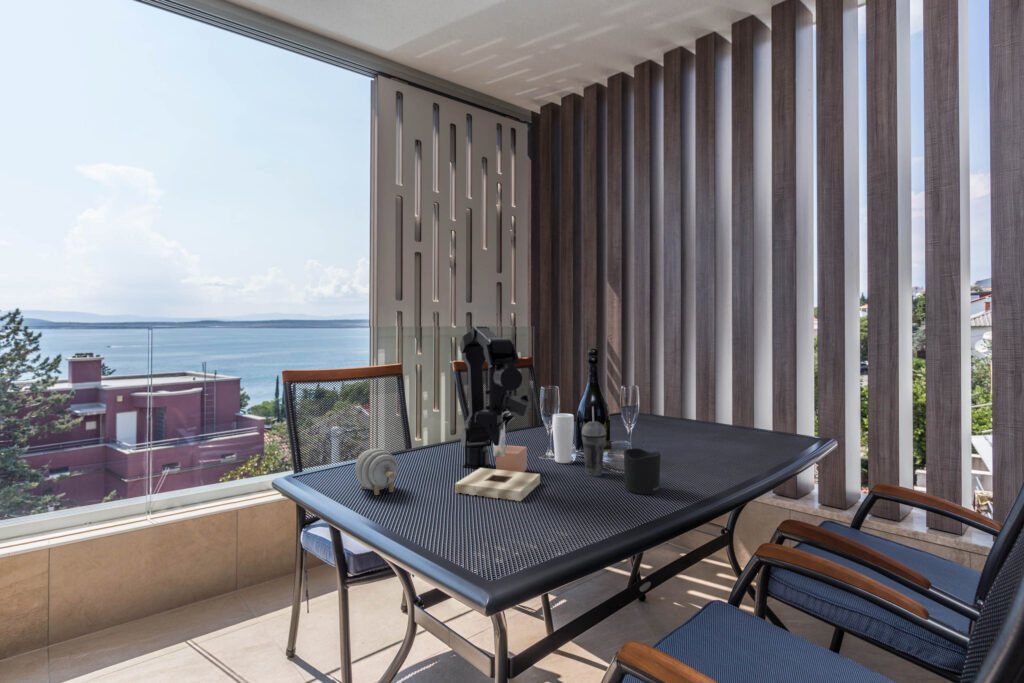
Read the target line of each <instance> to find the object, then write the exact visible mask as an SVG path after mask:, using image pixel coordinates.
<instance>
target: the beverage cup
mask: <svg viewBox="0 0 1024 683" xmlns="http://www.w3.org/2000/svg"><path fill="white" fill-rule="evenodd" d="M594 407H595V406H591V416H592V417H591V419H592V420H590V421H588V422H586V423H585V425H584V426H583V427H582V429H581V430H582V431H581V441H582V446H583V456H584V457H583V458H584V469H585V475H587V476H591V477H599V476H602V471H603V464H604V452H605V443H606V439H607V436H608V435H607V432H606V431H607V430H606V428H605V427H604V426H605V425H604V424H602V423H601V422H599V421H597V420H595V408H594Z"/></svg>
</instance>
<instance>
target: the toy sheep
mask: <svg viewBox="0 0 1024 683" xmlns="http://www.w3.org/2000/svg"><path fill="white" fill-rule="evenodd" d="M354 466H355V469H354V470H355V474H356V478H357V480H358V481H359V483H360V484H361V485H360V487H361V488H362V489H361V490H365V489H364V488H366V489H368V490H370V491H371V490H373V493H374V496H375V495H380V491H381V490H383V489H385V488H387V487H388V493H390V492H392V493H393V492H394V481H395V479H396V477H397V475H398V471H399V466H398V461H397V460H396V457H395V456H394V455H393V454H392V453H391V452H389V451H388V450H386V449H383V448H371V449H367V450H365V451H363V452H362V453H361V454H359V456H358V457H357V460H356V462H355V465H354Z"/></svg>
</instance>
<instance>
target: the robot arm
mask: <svg viewBox="0 0 1024 683" xmlns="http://www.w3.org/2000/svg"><path fill="white" fill-rule="evenodd" d="M459 351H460V353H461V358H462V360H463V362H464V363H465V364H466V367H467V377H468V378H467V379H468V382H467V383H468V403H469V404H468V407H469V408H468V409H469V410H468V411H469V414H468V416H467V418H466V419H465V421H464V428H463V430H462V433H461V437H460V445H461V446H462V448H464V463H463V464H462V467H464V468H472V469H479V468H486V466H488V465H490V460H489V459H490V458H489V454H490V452H489V449H488V447H492V445H493V443H494V445H495V446H498V445H499V440H500V432H501V426H502V425H503V424H504V423H505V436H506V435H507V432H508V427H509V424H510V423H511V421H513V420H514V419H515V418H516V415H518V416H521V417H524V416H525V415H528V413H529V411H530V408H532V406H533V405H532V401H531V396H530V395H528V394H523V395H522V396H516V395H514V391H515V390H517V389H518V388H520V387H521V384H522V383H523V376H522V373H521V372H520V370H519V369H518V368H516V366H518V365H519V359H520V358H519V355H518V353H517V349H516V347H515V344H514V343H513V341H512V340H511V339H510V338H508V337H499V336H498V335H497V334H495V333H494V332H493V331H492V330H491V329H490V326H489V327H488V326H485V325H484V326H482V325H481V326H480V325H479V326H477V325H476V326H474V327H473V326H472V327H471V330H470V331H469V332H467V333H466V334H464V335H463V336H462V338H461V340H460V345H459ZM485 362H486V363H487V367H488V371H487V374H488V375H487V376H488V381H487V382H488V384H487V387H488V388H487V389H485V394H484V371H483V366H484V364H485ZM484 395H488V398H487V399H488V402H487V403H488V404H487V405H485V399H484ZM512 413H515V415H512Z"/></svg>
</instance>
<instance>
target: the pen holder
mask: <svg viewBox="0 0 1024 683" xmlns="http://www.w3.org/2000/svg"><path fill="white" fill-rule="evenodd" d="M661 458H662V457H661V452H660V451H655V452H649V451H646V450H643V449H642V448H627V449H625V450H624V451H623V462H624V469H623V471H624V487H625V490H626V489H627V490H628V491H627V490H626V491H627V492H629V491H630V492H629V493H631V492H633V493H632V494H635V493H638V494H637V495H641V494H650V495H654V493H655V494H656V492H657V493H658V492H659V490H660V476H661V472H660V471H661Z"/></svg>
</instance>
